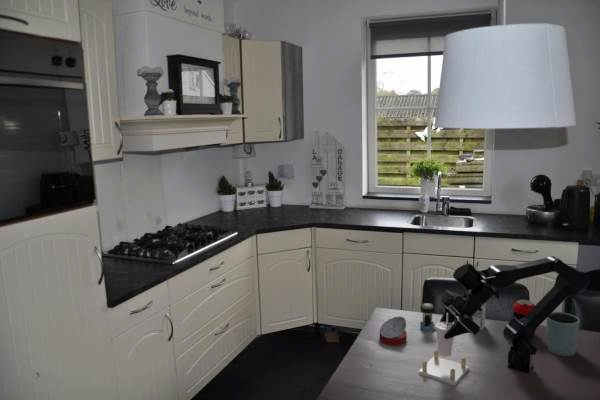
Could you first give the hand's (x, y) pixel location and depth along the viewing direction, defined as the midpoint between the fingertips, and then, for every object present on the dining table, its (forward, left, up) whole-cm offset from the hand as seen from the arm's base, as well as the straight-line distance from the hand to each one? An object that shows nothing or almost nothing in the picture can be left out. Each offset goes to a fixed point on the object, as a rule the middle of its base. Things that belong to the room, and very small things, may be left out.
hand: (441, 333), depth 160 cm
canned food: (+23, -12, -13) cm, 29 cm away
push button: (+16, -28, -13) cm, 35 cm away
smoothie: (-1, -1, -7) cm, 7 cm away
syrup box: (+2, -40, -13) cm, 42 cm away
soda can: (-14, -45, -13) cm, 49 cm away
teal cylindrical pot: (-28, -38, -13) cm, 49 cm away
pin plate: (-1, -1, -13) cm, 13 cm away
